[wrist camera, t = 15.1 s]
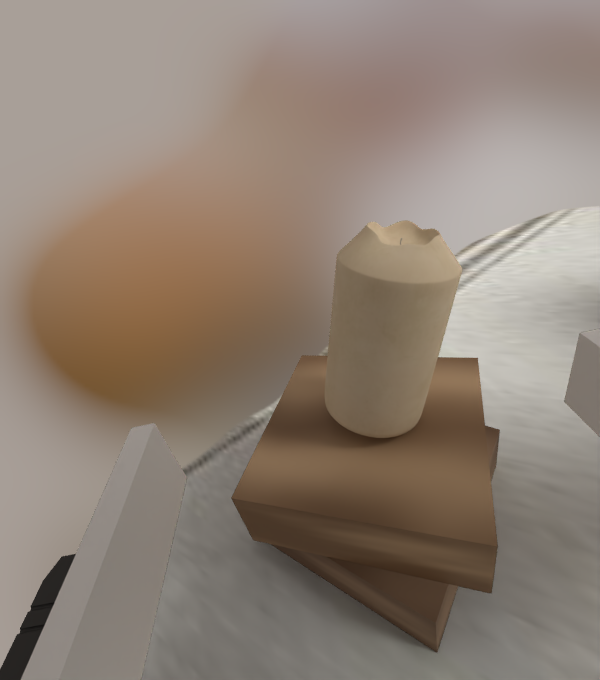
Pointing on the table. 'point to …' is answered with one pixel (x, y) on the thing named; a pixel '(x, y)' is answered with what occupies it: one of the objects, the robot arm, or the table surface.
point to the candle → (387, 326)
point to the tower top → (378, 482)
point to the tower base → (395, 584)
